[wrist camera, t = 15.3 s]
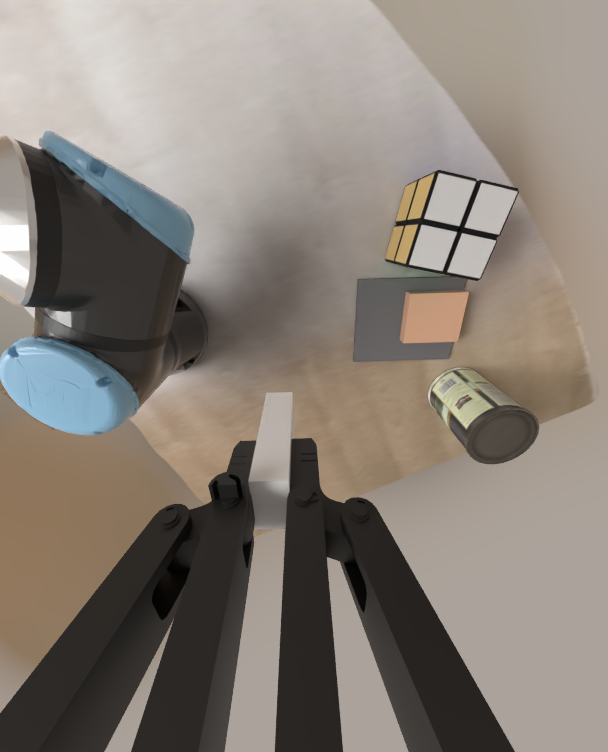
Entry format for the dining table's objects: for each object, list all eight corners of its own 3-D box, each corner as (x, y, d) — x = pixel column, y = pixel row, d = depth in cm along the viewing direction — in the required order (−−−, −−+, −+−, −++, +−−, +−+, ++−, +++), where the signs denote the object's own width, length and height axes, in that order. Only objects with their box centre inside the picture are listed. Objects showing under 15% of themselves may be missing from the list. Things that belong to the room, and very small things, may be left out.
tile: (403, 343, 47) (457, 341, 47) (410, 293, 43) (469, 292, 43) (399, 339, 49) (451, 337, 49) (405, 291, 45) (461, 289, 45)
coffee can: (466, 417, 57) (514, 469, 44) (419, 408, 55) (454, 459, 43) (492, 372, 52) (554, 415, 40) (441, 361, 51) (488, 402, 38)
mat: (353, 360, 51) (353, 361, 50) (357, 279, 44) (358, 279, 44) (447, 358, 51) (448, 358, 50) (465, 276, 44) (466, 276, 44)
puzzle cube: (472, 199, 40) (522, 188, 31) (444, 272, 44) (481, 282, 35) (405, 183, 39) (436, 168, 30) (383, 260, 43) (405, 267, 34)
